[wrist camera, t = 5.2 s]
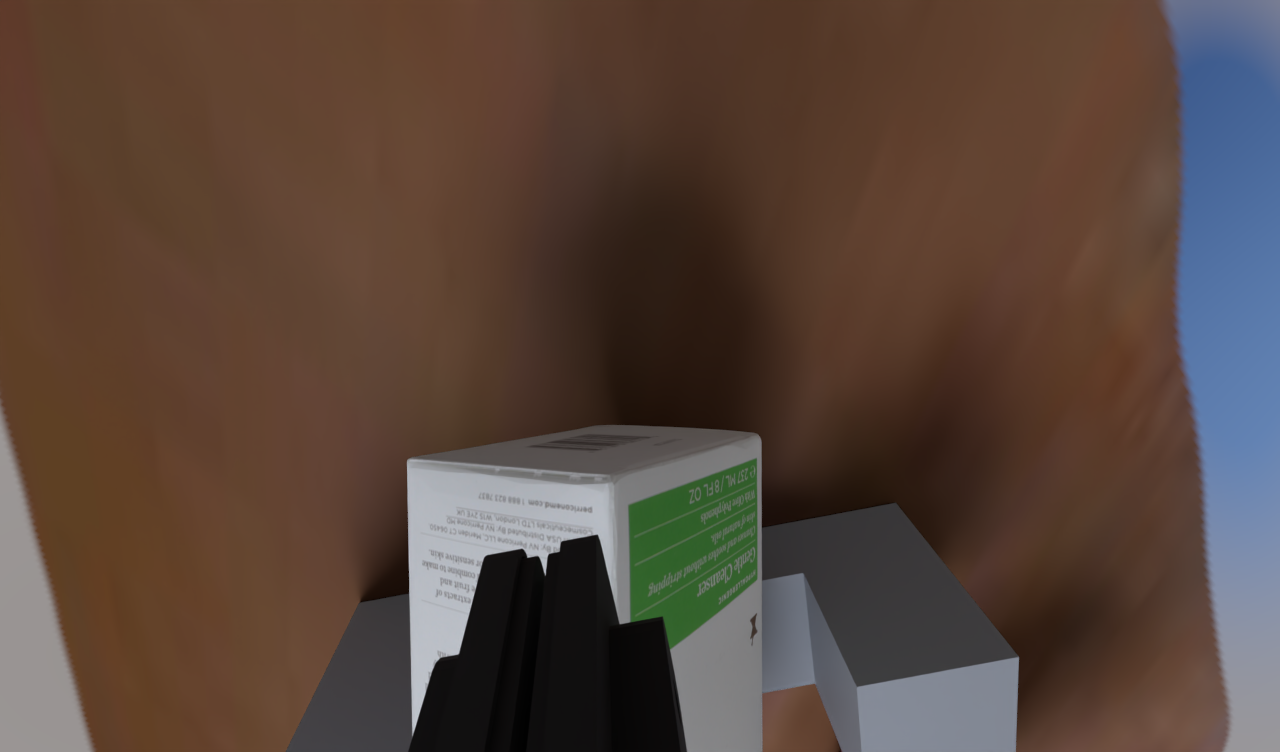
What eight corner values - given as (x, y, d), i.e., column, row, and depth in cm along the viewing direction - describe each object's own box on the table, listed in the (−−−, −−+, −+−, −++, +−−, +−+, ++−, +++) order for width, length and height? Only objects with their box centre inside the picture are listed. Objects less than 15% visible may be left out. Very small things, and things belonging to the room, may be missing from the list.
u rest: (359, 602, 26) (262, 797, 18) (895, 502, 26) (1018, 657, 18) (398, 699, 28) (325, 913, 20) (900, 606, 28) (1014, 785, 20)
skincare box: (764, 425, 20) (779, 932, 21) (583, 419, 23) (601, 853, 24) (603, 479, 13) (634, 1252, 13) (377, 459, 16) (411, 1075, 17)
